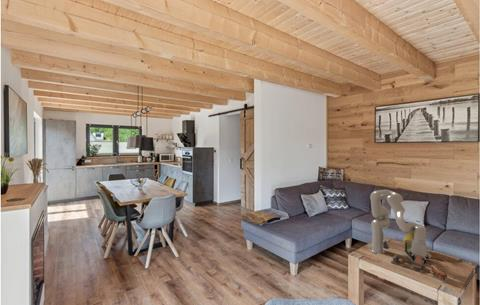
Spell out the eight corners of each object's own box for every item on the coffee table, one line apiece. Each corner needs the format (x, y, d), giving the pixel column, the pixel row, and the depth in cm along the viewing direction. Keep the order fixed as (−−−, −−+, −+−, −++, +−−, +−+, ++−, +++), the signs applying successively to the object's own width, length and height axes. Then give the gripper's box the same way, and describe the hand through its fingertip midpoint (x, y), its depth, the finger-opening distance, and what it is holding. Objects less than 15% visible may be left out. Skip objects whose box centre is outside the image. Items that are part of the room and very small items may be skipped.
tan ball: (397, 263, 206) (398, 259, 206) (399, 261, 209) (399, 257, 208) (402, 264, 203) (402, 260, 203) (403, 263, 206) (404, 259, 206)
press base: (390, 264, 206) (391, 257, 206) (394, 259, 215) (395, 252, 214) (422, 274, 190) (422, 267, 190) (425, 269, 198) (425, 262, 198)
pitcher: (401, 251, 228) (403, 226, 227) (403, 246, 242) (405, 221, 241) (423, 258, 217) (426, 231, 216) (425, 251, 231) (427, 226, 230)
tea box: (425, 264, 206) (426, 247, 205) (412, 263, 208) (412, 246, 207) (416, 255, 221) (416, 240, 220) (404, 254, 223) (404, 239, 222)
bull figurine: (432, 273, 193) (432, 263, 192) (448, 283, 179) (448, 272, 179) (427, 273, 192) (427, 263, 192) (443, 283, 179) (443, 273, 178)
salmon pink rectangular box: (413, 269, 196) (413, 253, 196) (415, 265, 202) (415, 250, 201) (420, 271, 193) (421, 255, 192) (422, 267, 198) (423, 252, 197)
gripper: (405, 239, 199) (405, 259, 200) (432, 245, 187) (431, 267, 188) (408, 236, 204) (407, 256, 205) (433, 242, 192) (433, 264, 193)
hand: (418, 261), depth 197 cm, fingers open, 6 cm apart
